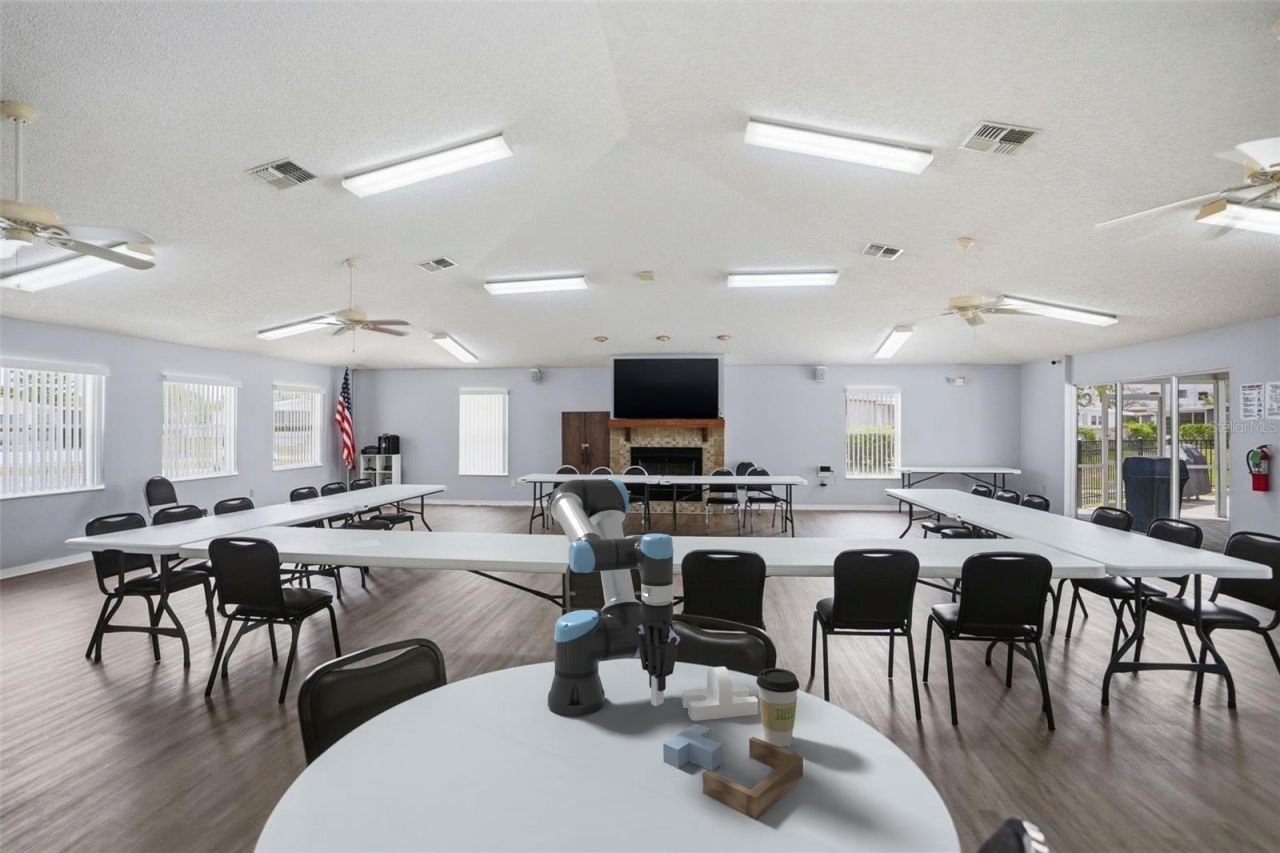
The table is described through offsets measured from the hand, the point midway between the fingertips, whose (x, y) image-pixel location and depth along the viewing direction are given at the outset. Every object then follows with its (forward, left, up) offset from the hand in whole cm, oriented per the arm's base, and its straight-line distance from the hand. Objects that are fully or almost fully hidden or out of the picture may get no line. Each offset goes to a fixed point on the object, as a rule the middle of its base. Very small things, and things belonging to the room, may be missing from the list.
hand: (657, 703), depth 135 cm
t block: (+12, 0, -9) cm, 14 cm away
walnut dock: (+27, 0, -9) cm, 28 cm away
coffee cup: (+21, +19, -9) cm, 30 cm away
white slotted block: (+2, +23, -9) cm, 25 cm away
